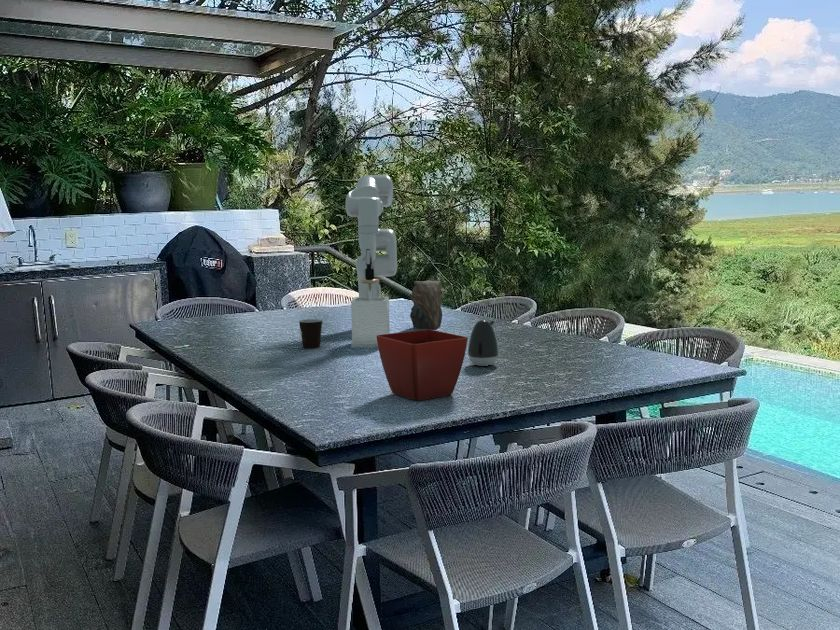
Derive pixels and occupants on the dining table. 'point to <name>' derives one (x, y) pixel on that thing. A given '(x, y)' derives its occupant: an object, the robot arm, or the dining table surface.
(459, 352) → the plant pot
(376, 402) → the dining table surface
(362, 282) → the plunger
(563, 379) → the dining table surface
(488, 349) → the dark grey tapered dome
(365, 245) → the robot arm
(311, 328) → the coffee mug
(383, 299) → the white open square box
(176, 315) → the dining table surface
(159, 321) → the dining table surface
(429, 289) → the owl
